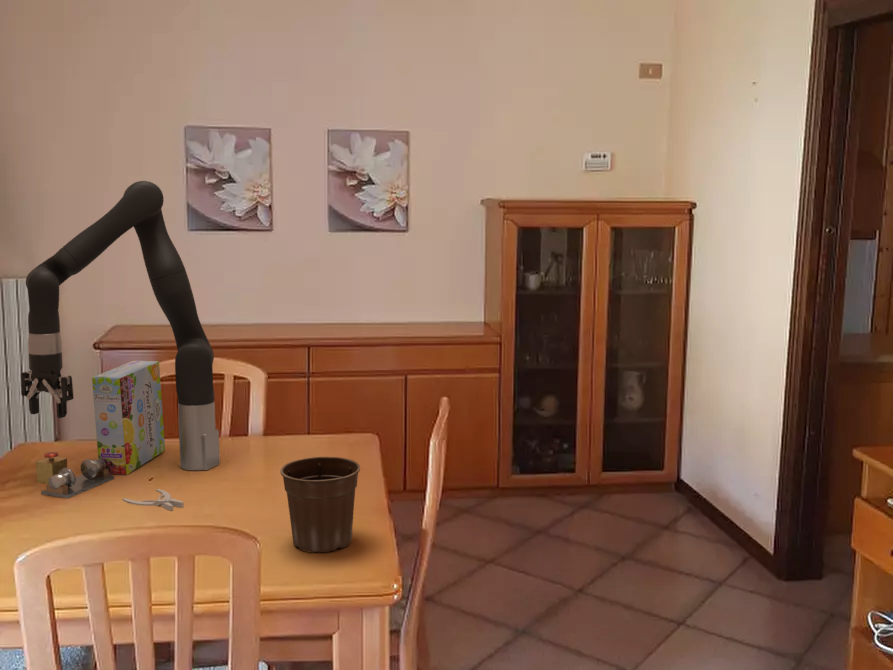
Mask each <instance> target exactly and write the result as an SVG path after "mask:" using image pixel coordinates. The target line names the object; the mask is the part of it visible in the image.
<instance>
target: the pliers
mask: <svg viewBox="0 0 893 670" xmlns="http://www.w3.org/2000/svg"><path fill="white" fill-rule="evenodd" d="M155 491H156V492H158V493H160V494H161V495H160V496H159V497H158V498H157V499H156V500H153V499H151V500H150V499H147V500H146V499H145V500H133V499H128V498H125V497H124V498H122V501H123V502H125V503H127V504H131V505H136V506H145V507H147V506H148V507H149V506H155V507H156V506H157V507H159V506H160V507H162V508H163V509H164V510H167V511H170V512H172V511H174V507H175V508H179V509H183V508H184V501H182V500H179V499H175V498H172V497H171V494H170V493H169V492H167V491H166V490H163V489H159V488H156V489H155ZM161 498H162V499H161Z"/></svg>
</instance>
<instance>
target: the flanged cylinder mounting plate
mask: <svg viewBox="0 0 893 670" xmlns="http://www.w3.org/2000/svg"><path fill="white" fill-rule="evenodd" d="M79 470H80V473H81V474H80V475H78V476H76V474H75V472H74V471H73V470H72V468H69V467H67V468H63V469H61V470H60V471H59V473H58V474H57V475H54V476H52V477H50V478H49V484H45V485H46V486H45V489H43V490H41V491H40V494H41V495H43V496H49V497H50V496H51V497H56V498H63V499H70V498H72V497H75V496H77V495H79V494H82V493H84V492H87V491H89V490H92V489H94V488H95V487H98V486H101V485H102V484H105V483H108V482H110V481H112V480H115V475H114V474H109V469H106V463H105V461H104V460H103V459H102V458H98V457H97V458H96V459H93V460H92V459H91V458H90V459H88V458H87V459H84V460H83V461H81V463H80V467H79Z"/></svg>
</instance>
